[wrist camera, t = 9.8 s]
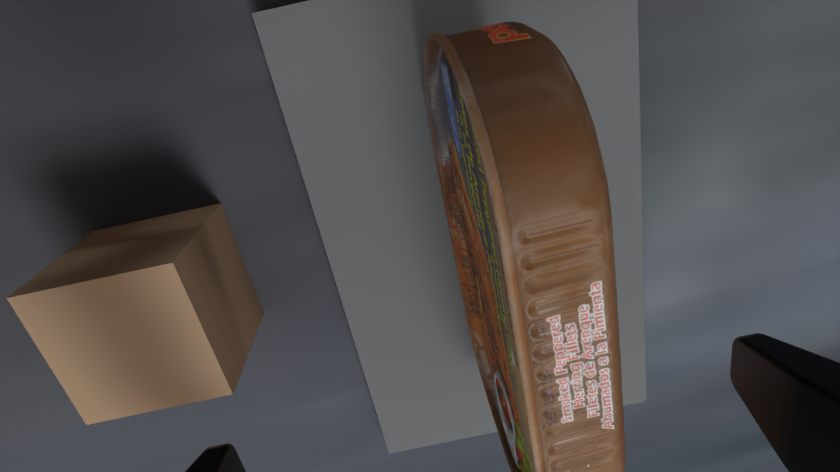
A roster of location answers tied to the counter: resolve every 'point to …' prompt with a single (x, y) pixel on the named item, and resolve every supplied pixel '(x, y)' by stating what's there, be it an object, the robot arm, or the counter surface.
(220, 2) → the counter surface
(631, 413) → the counter surface
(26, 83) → the counter surface
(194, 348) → the walnut block
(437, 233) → the mat
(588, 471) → the tin
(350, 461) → the counter surface
